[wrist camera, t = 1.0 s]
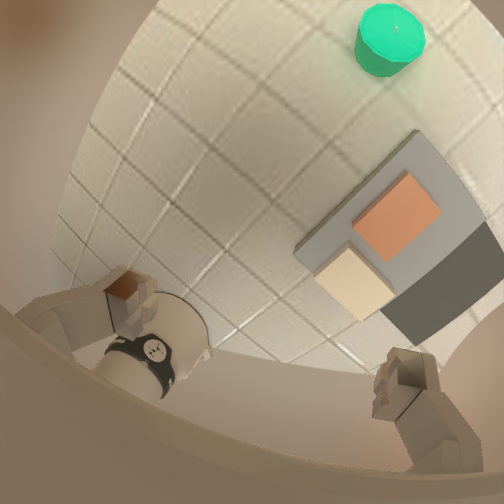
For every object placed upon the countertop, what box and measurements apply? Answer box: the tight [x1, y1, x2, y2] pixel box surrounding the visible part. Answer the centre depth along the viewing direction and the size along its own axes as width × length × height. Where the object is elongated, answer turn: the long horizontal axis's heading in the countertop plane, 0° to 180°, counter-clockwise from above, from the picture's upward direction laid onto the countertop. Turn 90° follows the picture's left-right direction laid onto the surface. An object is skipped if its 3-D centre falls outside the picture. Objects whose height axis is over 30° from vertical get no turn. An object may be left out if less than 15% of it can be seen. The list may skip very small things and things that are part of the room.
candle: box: [355, 4, 426, 77], centre depth 21 cm, size 6×6×12 cm
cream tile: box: [313, 241, 396, 322], centre depth 36 cm, size 9×6×2 cm, turn 51°
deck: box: [293, 130, 486, 321], centre depth 34 cm, size 22×14×2 cm, turn 141°
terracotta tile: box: [352, 170, 442, 262], centre depth 31 cm, size 9×6×2 cm, turn 141°
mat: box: [380, 221, 504, 346], centre depth 36 cm, size 20×11×1 cm, turn 141°
